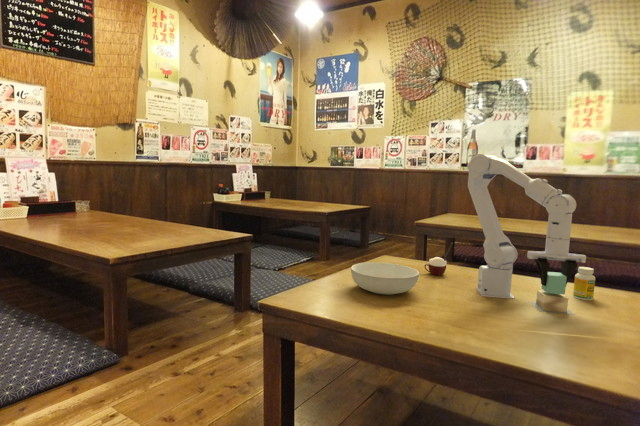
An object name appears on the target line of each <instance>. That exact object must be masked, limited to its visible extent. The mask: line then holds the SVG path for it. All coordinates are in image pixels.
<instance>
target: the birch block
mask: <svg viewBox="0 0 640 426" xmlns="http://www.w3.org/2000/svg"><path fill="white" fill-rule="evenodd" d="M535 302H536V304H537V305H538V306H539V307H540V308H542V309H543V310H547V311H559V312H567V309H568V305H569V304H568V303H569V297H567V296H566V294H553V293H547V292H545V291H544V290H543V289H541V290H540V289H539V290H538V289H537V290H536V301H535Z"/></svg>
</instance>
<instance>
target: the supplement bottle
mask: <svg viewBox="0 0 640 426" xmlns="http://www.w3.org/2000/svg"><path fill="white" fill-rule="evenodd" d="M577 268H578V269H577V273H575V275H574V282H573V293H572V297H574V299H575V298H576V299H579V300H583V301H592V300H593V299H594V294H595V286H596V277H595V275H593V274H594V270H595V269H594V268H591V267H586V266H577Z"/></svg>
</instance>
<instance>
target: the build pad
mask: <svg viewBox="0 0 640 426" xmlns="http://www.w3.org/2000/svg"><path fill="white" fill-rule="evenodd" d="M528 302H529V303H530V304H531V305H532V306H533V307H534V308H535V309H536V310H537V311H539V312H541V313H542V312H543V313H550V314H551V313H552V314H562V315H574V316H575V315H576V314H575V313H574V312H572V311H571V309H569V308H567V312H559V311H547V310H543V309H542V308H540V307H539V306H538V305H537V304H536V301H531V300H529V301H528Z"/></svg>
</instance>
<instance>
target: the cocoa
mask: <svg viewBox="0 0 640 426" xmlns="http://www.w3.org/2000/svg"><path fill="white" fill-rule="evenodd" d="M453 245H454V242H451V243H450V245H449V247H448V248H447V252H446V253H445V255H444V258H442V257H438V256H435V257H433V258H432V257H431V258H429V260H428V264H427V263H426V264H424V266H423V267H424V269H425V270H426V271H427V272H428V273H430V274H431V275H433V276H442V275H444V274H445V273H446V269H447V259H448V258H447V257H448V256H449V254H450V252H451V250H452V247H453ZM426 266H428V269H427V268H426Z"/></svg>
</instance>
